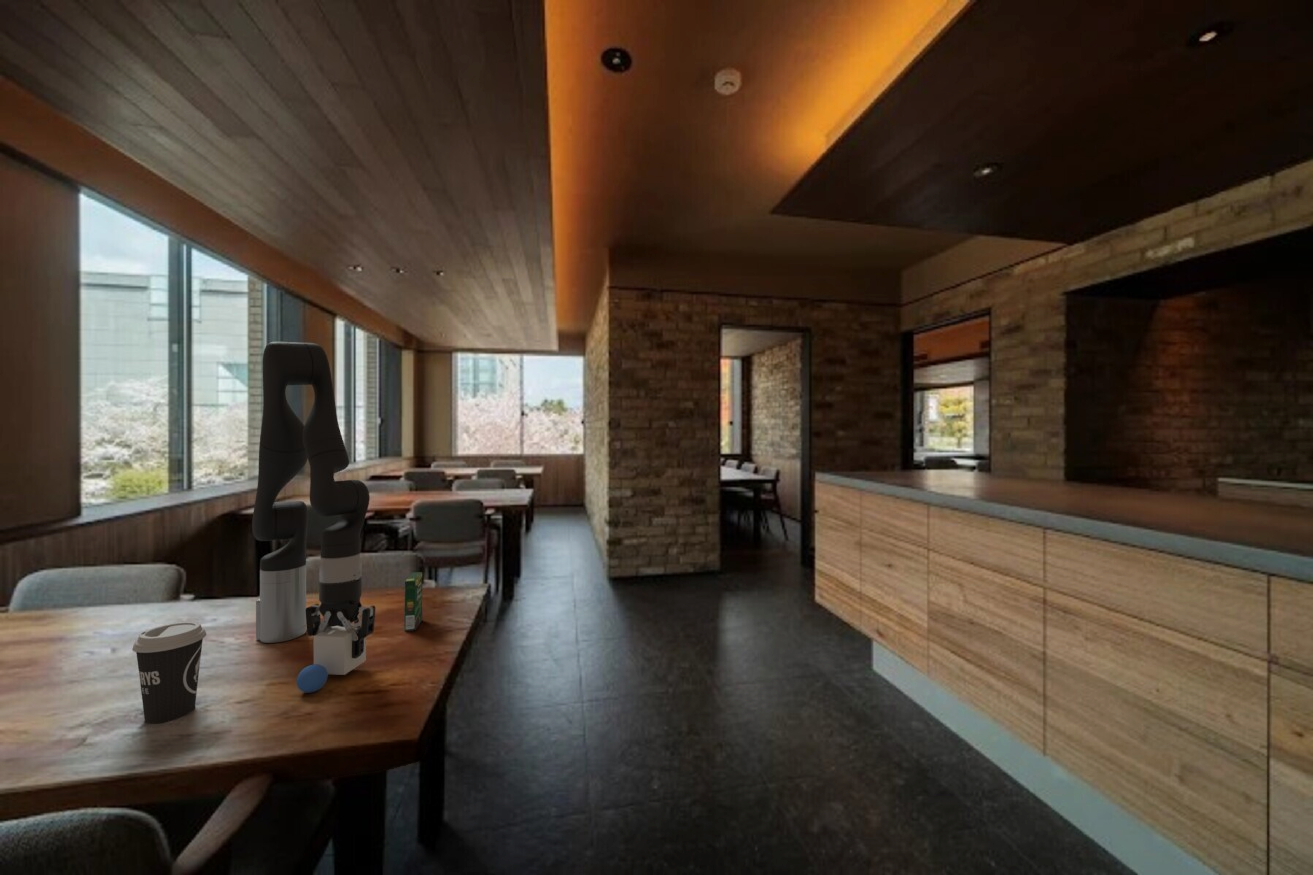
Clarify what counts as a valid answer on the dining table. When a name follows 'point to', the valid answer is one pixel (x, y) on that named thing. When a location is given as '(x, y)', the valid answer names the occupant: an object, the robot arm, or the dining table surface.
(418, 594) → the coffee box
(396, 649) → the dining table surface
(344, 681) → the dining table surface
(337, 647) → the block
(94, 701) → the dining table surface
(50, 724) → the dining table surface
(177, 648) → the coffee cup
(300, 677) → the blue egg
